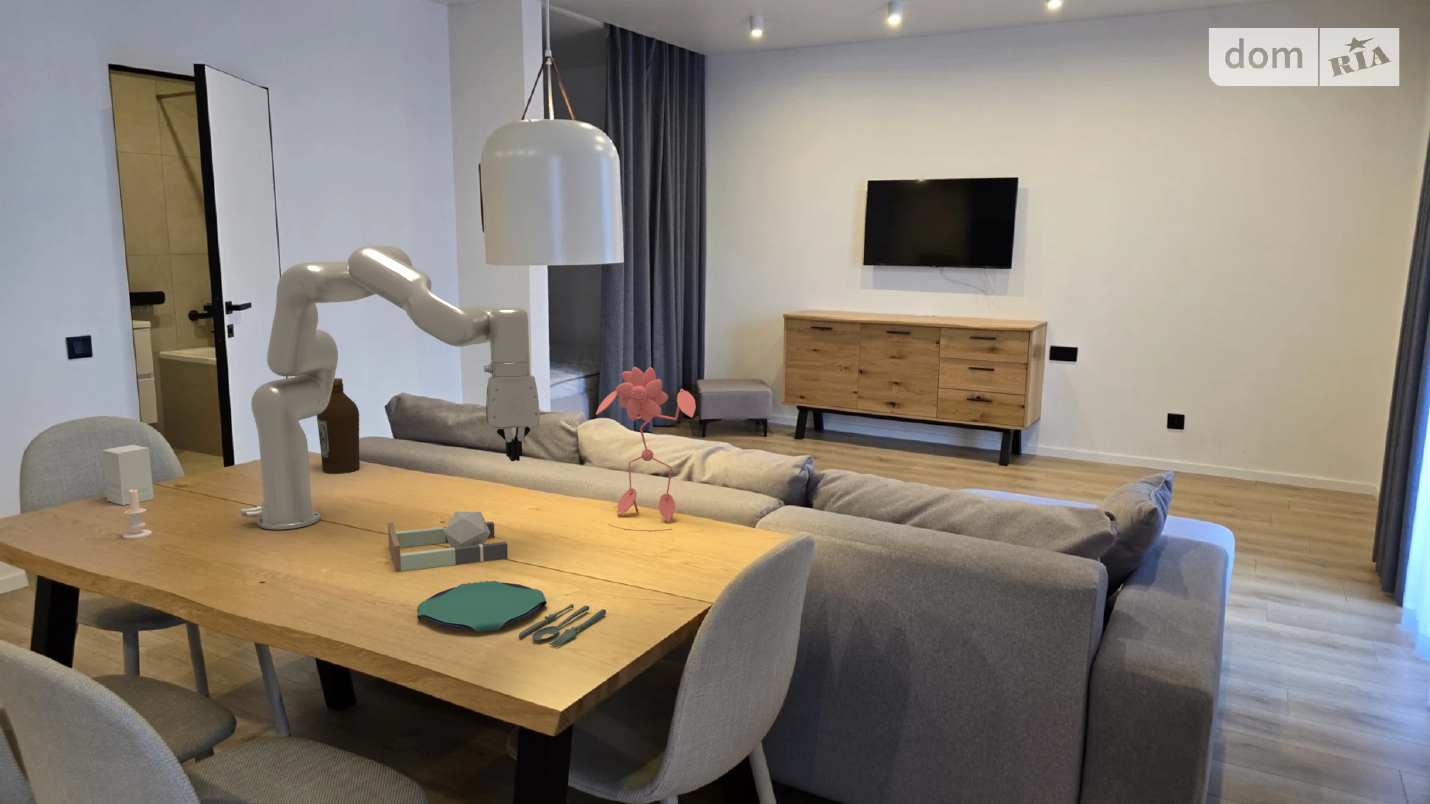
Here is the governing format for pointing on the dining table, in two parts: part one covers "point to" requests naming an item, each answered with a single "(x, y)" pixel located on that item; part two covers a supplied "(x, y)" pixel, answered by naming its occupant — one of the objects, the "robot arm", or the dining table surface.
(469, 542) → the die
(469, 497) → the dining table surface
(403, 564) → the trap lane
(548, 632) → the cutlery set
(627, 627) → the dining table surface
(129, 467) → the supplement box
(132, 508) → the candle
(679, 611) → the dining table surface
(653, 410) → the figurine
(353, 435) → the olive oil
